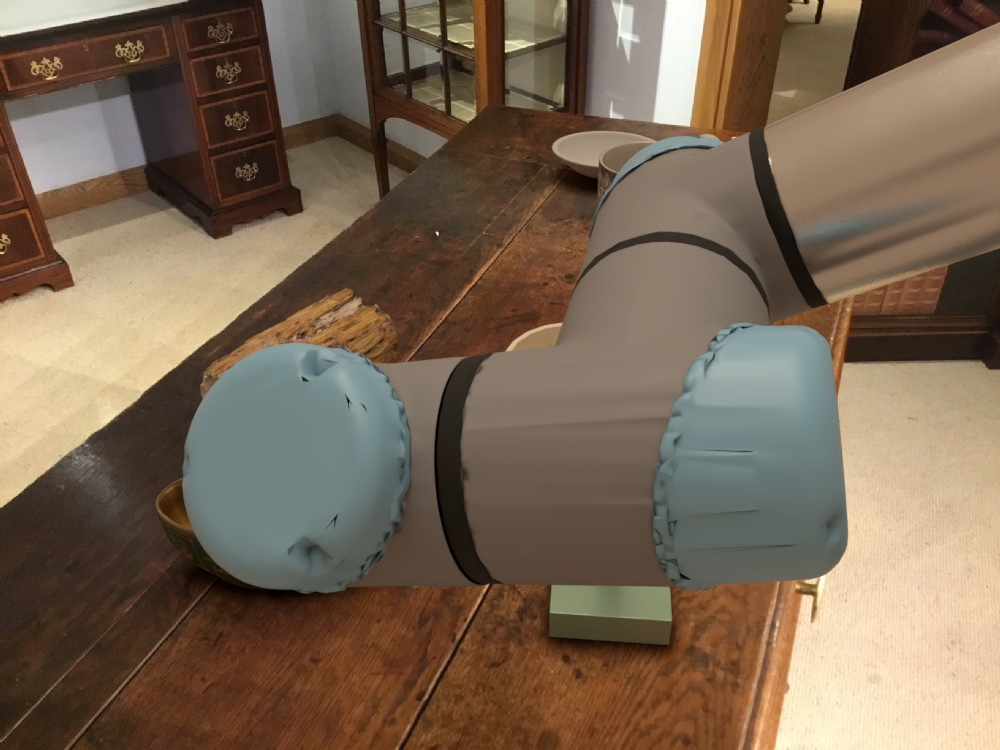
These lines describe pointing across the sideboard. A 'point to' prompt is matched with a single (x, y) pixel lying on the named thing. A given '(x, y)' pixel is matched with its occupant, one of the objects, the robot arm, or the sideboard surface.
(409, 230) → the sideboard surface
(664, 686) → the sideboard surface
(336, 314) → the petrified wood
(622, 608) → the holder
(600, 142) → the dish
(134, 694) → the sideboard surface
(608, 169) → the planter
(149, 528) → the sideboard surface
